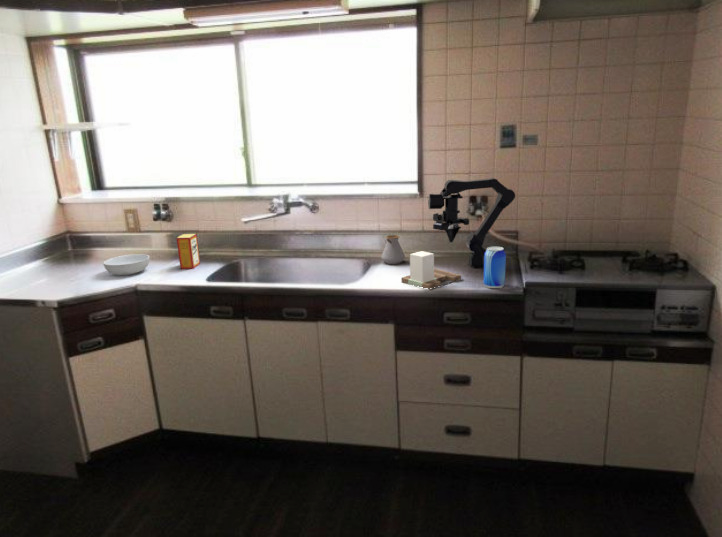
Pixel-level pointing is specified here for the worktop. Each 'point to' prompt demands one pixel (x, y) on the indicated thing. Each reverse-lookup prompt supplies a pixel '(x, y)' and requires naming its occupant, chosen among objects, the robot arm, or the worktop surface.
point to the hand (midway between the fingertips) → (451, 242)
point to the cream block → (422, 266)
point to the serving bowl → (127, 264)
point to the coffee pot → (393, 251)
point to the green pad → (417, 282)
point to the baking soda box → (188, 251)
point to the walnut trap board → (441, 277)
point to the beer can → (494, 267)
